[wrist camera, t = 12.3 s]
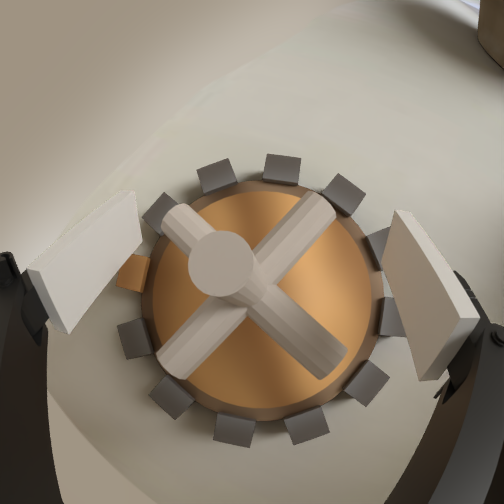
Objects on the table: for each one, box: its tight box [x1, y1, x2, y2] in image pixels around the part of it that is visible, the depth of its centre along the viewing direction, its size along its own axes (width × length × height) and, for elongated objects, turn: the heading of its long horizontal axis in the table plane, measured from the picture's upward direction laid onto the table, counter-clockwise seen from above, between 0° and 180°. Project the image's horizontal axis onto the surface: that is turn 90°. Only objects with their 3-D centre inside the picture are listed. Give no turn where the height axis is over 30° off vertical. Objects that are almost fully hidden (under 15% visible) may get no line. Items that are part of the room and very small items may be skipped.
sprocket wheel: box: [116, 154, 407, 448], centre depth 18 cm, size 20×20×2 cm
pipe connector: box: [156, 191, 348, 380], centre depth 12 cm, size 10×10×10 cm
